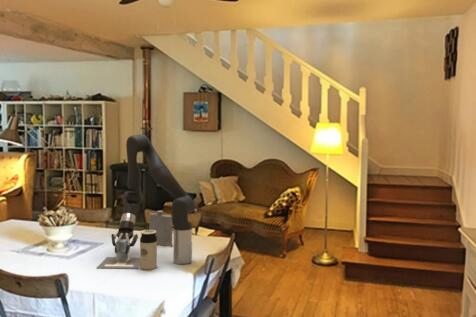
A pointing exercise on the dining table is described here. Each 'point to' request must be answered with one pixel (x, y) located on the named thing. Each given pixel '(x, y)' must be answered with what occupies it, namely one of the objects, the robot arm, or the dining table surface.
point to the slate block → (121, 250)
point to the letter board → (120, 263)
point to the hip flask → (161, 227)
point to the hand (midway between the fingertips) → (121, 252)
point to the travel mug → (148, 250)
